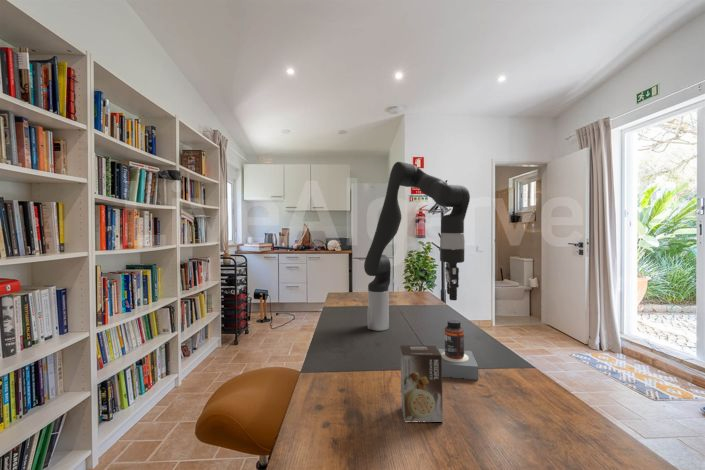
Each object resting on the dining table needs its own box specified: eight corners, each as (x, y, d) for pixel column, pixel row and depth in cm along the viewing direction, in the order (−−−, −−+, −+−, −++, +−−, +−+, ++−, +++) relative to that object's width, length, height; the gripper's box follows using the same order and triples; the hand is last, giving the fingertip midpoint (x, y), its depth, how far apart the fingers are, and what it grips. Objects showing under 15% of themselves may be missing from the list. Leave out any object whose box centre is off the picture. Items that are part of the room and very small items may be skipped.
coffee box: (437, 408, 78) (437, 344, 78) (443, 424, 72) (443, 355, 71) (400, 407, 78) (400, 344, 78) (403, 423, 72) (403, 354, 72)
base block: (436, 376, 94) (436, 362, 94) (434, 359, 106) (434, 347, 106) (478, 379, 92) (478, 365, 92) (471, 362, 104) (471, 350, 104)
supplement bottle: (464, 353, 101) (464, 319, 101) (464, 360, 96) (464, 324, 95) (445, 351, 103) (444, 317, 103) (444, 358, 97) (444, 322, 97)
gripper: (438, 245, 108) (438, 291, 108) (441, 248, 94) (441, 301, 94) (461, 245, 106) (460, 292, 107) (467, 249, 92) (467, 303, 93)
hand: (451, 296), depth 100 cm, fingers open, 8 cm apart
